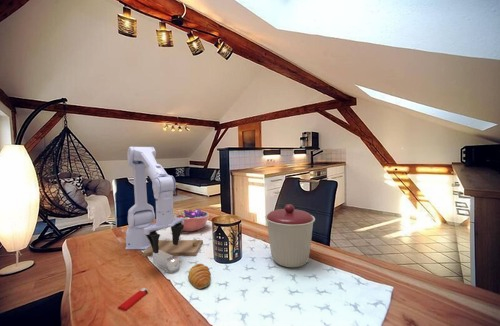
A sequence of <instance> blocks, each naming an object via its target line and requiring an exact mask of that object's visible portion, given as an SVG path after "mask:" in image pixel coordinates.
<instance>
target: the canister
mask: <svg viewBox="0 0 500 326" xmlns="http://www.w3.org/2000/svg"><path fill="white" fill-rule="evenodd" d="M264 218H265V220H266V223H267V232H268V233H267V234H268V241H269V247H270V255H271V257H272V259H273V261H274V262H276V264H277V265H280V266H283V267H285V268H286V267H287V268H299V267H302V266H304V265H306V264H307V263H308V260H309V257H310V252H311V246H312V237H313V226H314V223H315V222H316V218H315V216H313V215H312V214H311V213H310V212H307V211H305V210H301V209H295V206H294V205H293V204H291V203H290V204H289V203H288V204H286V205H285V206H284V208H280V209H279V208H278V209H275V210H272V211H270V212H268V213H267V214H265V216H264Z"/></svg>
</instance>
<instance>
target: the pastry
mask: <svg viewBox="0 0 500 326" xmlns="http://www.w3.org/2000/svg"><path fill="white" fill-rule="evenodd" d="M211 275H212V274H211V271H210V269H209V267H208V266H207V265H205V264H204V263H196V264H195V265H193V266H191V268H190V269H189V271H188V275H187V278H188V281H189V283H190V284H191V285H192V286H193V287H194V288H195V289H198V290H201V289H204V288H206V287H208V286H209V285H210V283H211Z"/></svg>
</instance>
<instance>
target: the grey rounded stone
mask: <svg viewBox="0 0 500 326" xmlns="http://www.w3.org/2000/svg"><path fill="white" fill-rule="evenodd" d="M152 263H153V265H156V266H158V267H159V268H161V269H163V270H165V271H166V273H168V274H171V275H172V274H177V272H179V271H180V256H172V255H170V254H168V253H166V252H164V251H161V250H159V251H158V253H154V252H153V256H152Z"/></svg>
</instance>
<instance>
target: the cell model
mask: <svg viewBox="0 0 500 326" xmlns="http://www.w3.org/2000/svg"><path fill="white" fill-rule="evenodd" d="M180 217H182V218H184V223H183V224H182V225H184V228H183V230H182V231H184V232H194V231H199V230H201V229H202V228H204V227H205V226H206V224H207V222H208V220H209V218H210V213H209V212H208V211H206V210H202V209H200V208H196V209H195V210H192V209H189V210H186V209H184V211H181V212H177V213H175V214H174V219H176V218H180Z"/></svg>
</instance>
